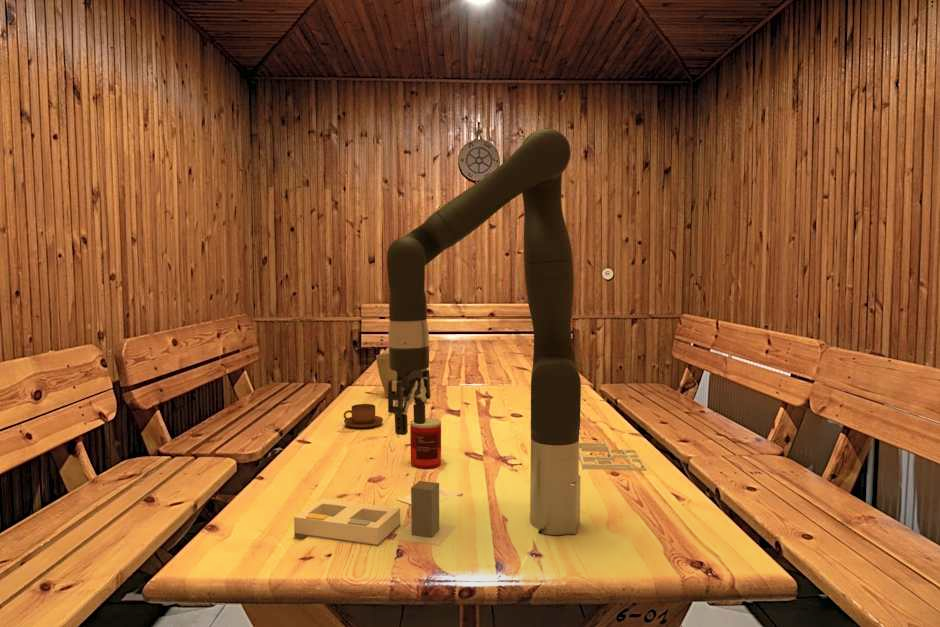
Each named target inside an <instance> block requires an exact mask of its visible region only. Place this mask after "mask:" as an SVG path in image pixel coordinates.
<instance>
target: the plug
mask: <svg viewBox="0 0 940 627" xmlns="http://www.w3.org/2000/svg"><path fill="white" fill-rule="evenodd" d="M439 485H440V483H439V482H435V481H434V482H433V481H424V480H419V481H417V482H416V483H415V484H414V485H413V486H411V487H410V494H411V505H410V507H411V508H410V511H411V514H410V515H411V520H410V522H411V528H412V535H414V536H421V537H429V538H432V537H433V536H434V535H435V534H436V533H437V532H438V530H439V524H440V503H439Z"/></svg>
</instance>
